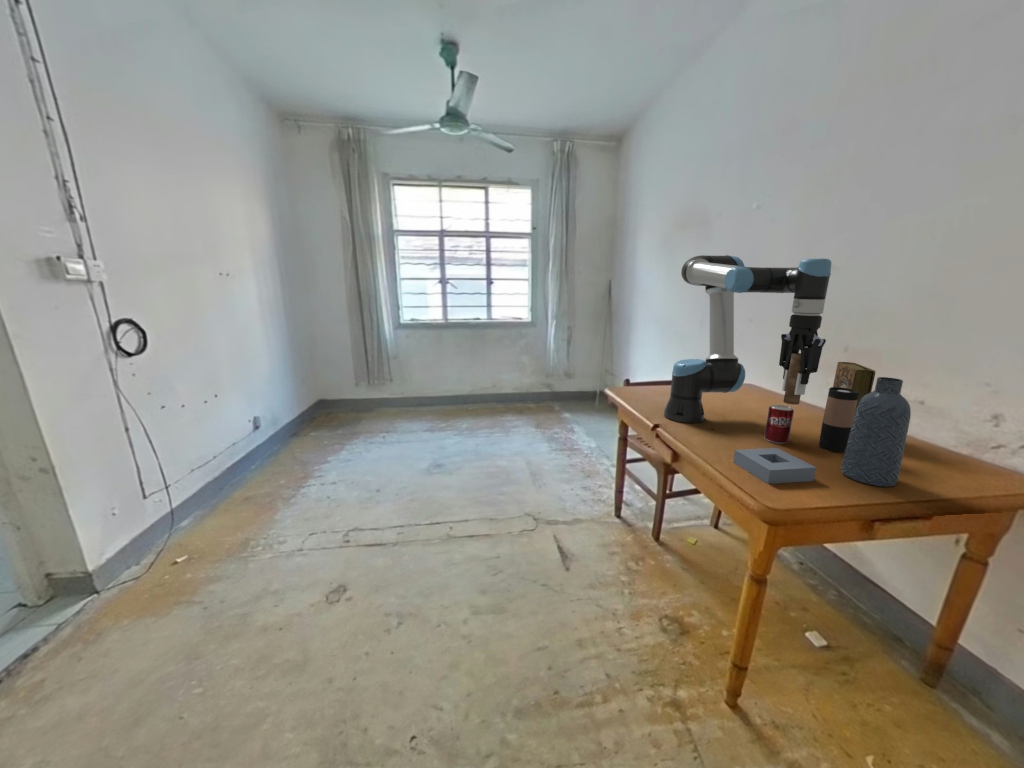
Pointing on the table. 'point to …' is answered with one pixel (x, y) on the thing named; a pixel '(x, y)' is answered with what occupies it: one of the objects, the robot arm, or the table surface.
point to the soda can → (778, 424)
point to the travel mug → (838, 419)
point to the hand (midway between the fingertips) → (792, 392)
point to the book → (854, 378)
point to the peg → (793, 380)
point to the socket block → (774, 465)
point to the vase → (878, 435)
